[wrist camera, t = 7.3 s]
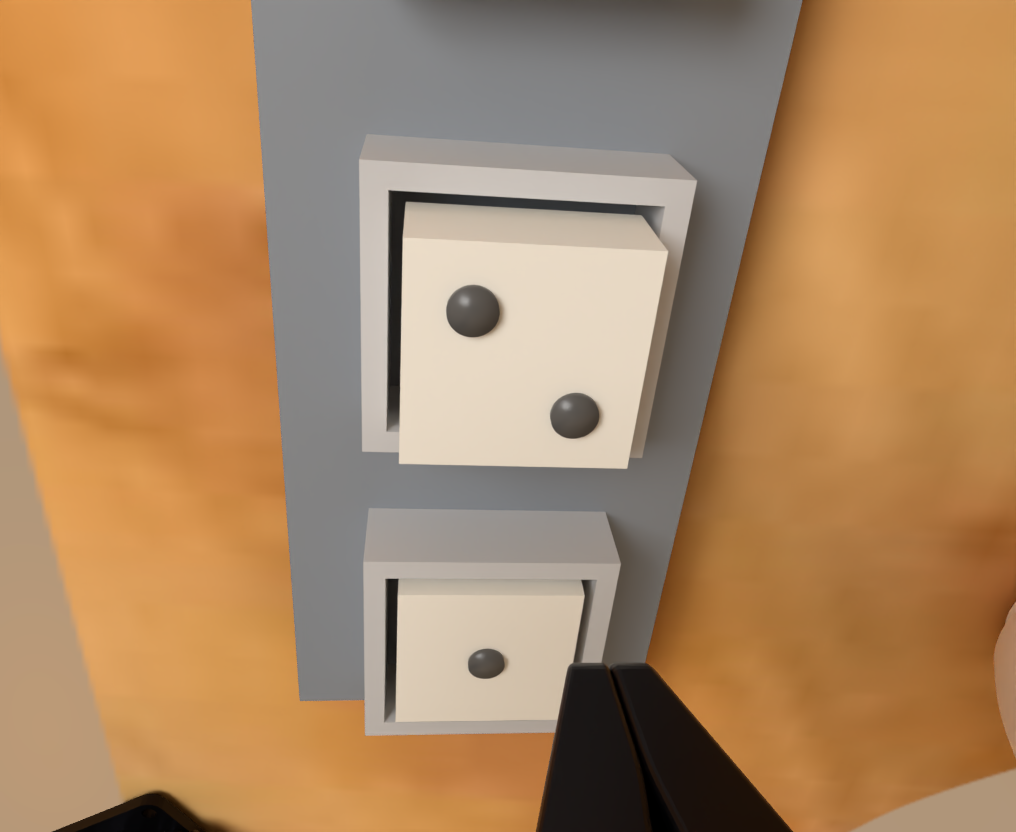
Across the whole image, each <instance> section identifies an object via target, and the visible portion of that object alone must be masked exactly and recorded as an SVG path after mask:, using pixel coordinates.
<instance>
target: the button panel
mask: <svg viewBox="0 0 1016 832" xmlns="http://www.w3.org/2000/svg"><path fill="white" fill-rule="evenodd" d="M802 1H803V0H251V6H252V20H253V34H254V49H255V63H256V77H257V92H258V106H259V121H260V135H261V149H262V164H263V178H264V192H265V207H266V221H267V236H268V250H269V264H270V279H271V293H272V307H273V322H274V336H275V351H276V365H277V379H278V394H279V408H280V422H281V437H282V451H283V466H284V480H285V494H286V509H287V523H288V537H289V552H290V566H291V581H292V595H293V609H294V624H295V638H296V652H297V667H298V681H299V696H300V701H328V700H365V736H366V735H428V734H490V733H552V732H555V730H556V725H557V720H504V721H435V722H396V667H397V612H398V580H399V579H567V580H581V582H582V586H583V590H584V595H585V597H584V603H583V609H582V614H581V620H580V626H579V632H578V637H577V643H576V649H575V655H574V660H573V663H604V664H606V665H607V666H608V667H609V665H611V664H612V663H645V661H646V657H647V653H648V648H649V644H650V640H651V636H652V632H653V627H654V623H655V619H656V615H657V611H658V606H659V602H660V598H661V594H662V590H663V585H664V581H665V577H666V573H667V569H668V564H669V560H670V556H671V552H672V548H673V543H674V539H675V535H676V531H677V526H678V522H679V518H680V514H681V510H682V505H683V501H684V497H685V493H686V489H687V484H688V480H689V476H690V472H691V468H692V463H693V459H694V455H695V451H696V447H697V442H698V438H699V434H700V430H701V426H702V421H703V417H704V413H705V409H706V404H707V400H708V396H709V392H710V388H711V383H712V379H713V375H714V371H715V367H716V362H717V358H718V354H719V350H720V346H721V341H722V337H723V333H724V329H725V325H726V320H727V316H728V312H729V308H730V304H731V299H732V295H733V291H734V287H735V282H736V278H737V274H738V270H739V266H740V261H741V257H742V253H743V249H744V245H745V240H746V236H747V232H748V228H749V224H750V219H751V215H752V211H753V207H754V203H755V198H756V194H757V190H758V186H759V182H760V177H761V173H762V169H763V165H764V160H765V156H766V152H767V148H768V144H769V139H770V135H771V131H772V127H773V123H774V118H775V114H776V110H777V106H778V102H779V97H780V93H781V89H782V85H783V81H784V76H785V72H786V68H787V64H788V60H789V55H790V51H791V47H792V43H793V39H794V34H795V30H796V26H797V22H798V17H799V13H800V9H801V5H802ZM406 202H421V203H439V204H456V205H474V206H491V207H509V208H526V209H543V210H561V211H578V212H596V213H613V214H630V215H642V216H643V218H644V219H645V221H646V222H647V223H648V225H649V226H650V227H651V229H652V230H653V231H654V233H655V234H656V235H657V237H658V238H659V240H660V241H661V242H662V244H663V245H664V246H665V248H666V249H667V250H668V255H667V261H666V266H665V271H664V276H663V282H662V287H661V292H660V297H659V303H658V308H657V313H656V319H655V324H654V329H653V334H652V340H651V345H650V350H649V356H648V361H647V366H646V371H645V377H644V382H643V387H642V393H641V398H640V403H639V408H638V414H637V419H636V424H635V430H634V435H633V440H632V445H631V451H630V456H629V461H628V467H627V469H617V468H570V467H523V466H476V465H429V464H399V428H400V369H401V311H402V253H403V229H404V217H405V205H406Z"/></svg>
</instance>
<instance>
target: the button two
mask: <svg viewBox="0 0 1016 832" xmlns="http://www.w3.org/2000/svg"><path fill="white" fill-rule="evenodd" d="M667 255H668V250H667V249H666V248H665V246H664V245H663V244H662V242H661V241H660V240H659V238H658V237H657V235H656V234H655V233H654V231H653V230H652V229H651V227H650V226H649V225H648V223H647V222H646V221H645V219H644V218H643V216H642V215H630V214H613V213H596V212H578V211H561V210H543V209H526V208H509V207H491V206H474V205H456V204H439V203H421V202H406V205H405V217H404V229H403V253H402V311H401V369H400V428H399V464H429V465H476V466H523V467H570V468H617V469H627V467H628V461H629V456H630V451H631V445H632V440H633V435H634V430H635V424H636V419H637V414H638V408H639V403H640V398H641V393H642V387H643V382H644V377H645V371H646V366H647V361H648V356H649V350H650V345H651V340H652V334H653V329H654V324H655V319H656V313H657V308H658V303H659V297H660V292H661V287H662V282H663V276H664V271H665V266H666V261H667Z"/></svg>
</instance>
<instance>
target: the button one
mask: <svg viewBox="0 0 1016 832" xmlns="http://www.w3.org/2000/svg"><path fill="white" fill-rule="evenodd" d="M584 597H585V595H584V590H583V586H582V582H581V580H567V579H399V580H398V612H397V667H396V722H435V721H504V720H557V719H558V714H559V709H560V704H561V699H562V694H563V688H564V683H565V678H566V673H567V669H568V666H569V665H570V664H572V663H573V660H574V655H575V649H576V643H577V637H578V632H579V626H580V620H581V614H582V609H583V603H584Z"/></svg>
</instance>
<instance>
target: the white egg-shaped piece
mask: <svg viewBox="0 0 1016 832" xmlns="http://www.w3.org/2000/svg"><path fill="white" fill-rule="evenodd" d="M994 672H995V685H996V694H997V700H998V706H999V710H1000V714H1001V718H1002V722H1003V725H1004V728H1005V732H1006V734H1007V737H1008V740H1009V742H1010V745H1011V748H1012V750H1013V753H1014V755H1015V758H1016V602H1015V603H1014V605H1013V606H1012V608H1011V609H1010V611H1009V613H1008V615H1007V618H1006V622H1005V626H1004V627H1003V629H1002V631H1001V633H1000V635H999V638H998V640H997V642H996V646H995V652H994Z"/></svg>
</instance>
